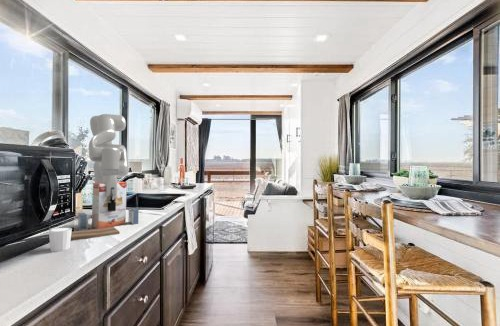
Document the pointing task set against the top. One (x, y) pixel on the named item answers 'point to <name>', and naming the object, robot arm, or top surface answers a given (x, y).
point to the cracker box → (100, 206)
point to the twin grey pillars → (84, 219)
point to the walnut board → (93, 233)
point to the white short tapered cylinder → (60, 239)
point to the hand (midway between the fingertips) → (109, 209)
